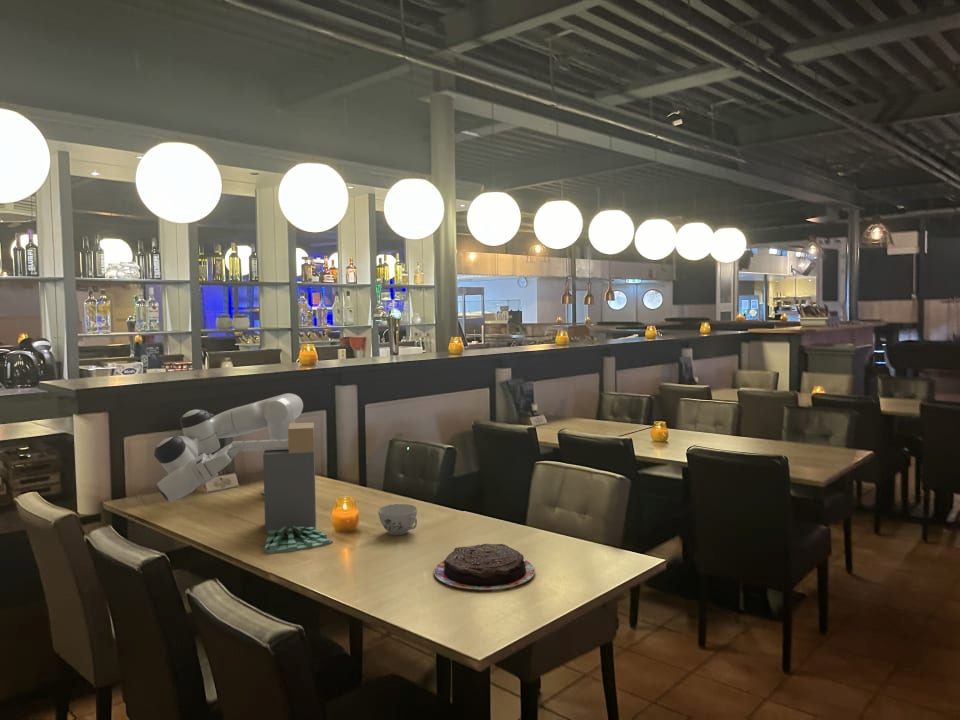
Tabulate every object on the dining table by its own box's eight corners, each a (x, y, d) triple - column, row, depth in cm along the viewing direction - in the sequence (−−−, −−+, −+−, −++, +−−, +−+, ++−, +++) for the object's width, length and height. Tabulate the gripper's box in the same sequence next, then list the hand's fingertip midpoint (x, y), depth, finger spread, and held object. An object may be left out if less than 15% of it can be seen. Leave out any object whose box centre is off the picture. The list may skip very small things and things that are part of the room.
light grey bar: (232, 450, 244) (232, 441, 244) (307, 447, 249) (307, 438, 249) (231, 452, 241) (231, 442, 241) (307, 448, 246) (306, 439, 246)
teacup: (370, 533, 240) (370, 509, 239) (399, 524, 249) (398, 501, 249) (401, 543, 230) (401, 517, 229) (430, 533, 239) (430, 509, 239)
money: (305, 533, 242) (304, 519, 241) (333, 544, 230) (333, 528, 230) (248, 548, 227) (248, 532, 227) (276, 560, 216) (275, 543, 216)
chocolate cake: (447, 599, 186) (447, 573, 186) (424, 563, 213) (423, 540, 212) (550, 587, 194) (550, 562, 194) (515, 553, 221) (515, 531, 220)
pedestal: (268, 522, 252) (265, 424, 250) (316, 519, 256) (313, 422, 253) (265, 533, 241) (262, 429, 238) (315, 530, 244) (313, 428, 241)
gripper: (216, 468, 252) (252, 447, 254) (206, 482, 232) (246, 458, 234) (205, 453, 251) (242, 431, 253) (195, 465, 231) (235, 442, 233)
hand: (244, 444), depth 243 cm, fingers closed on light grey bar, 3 cm apart
